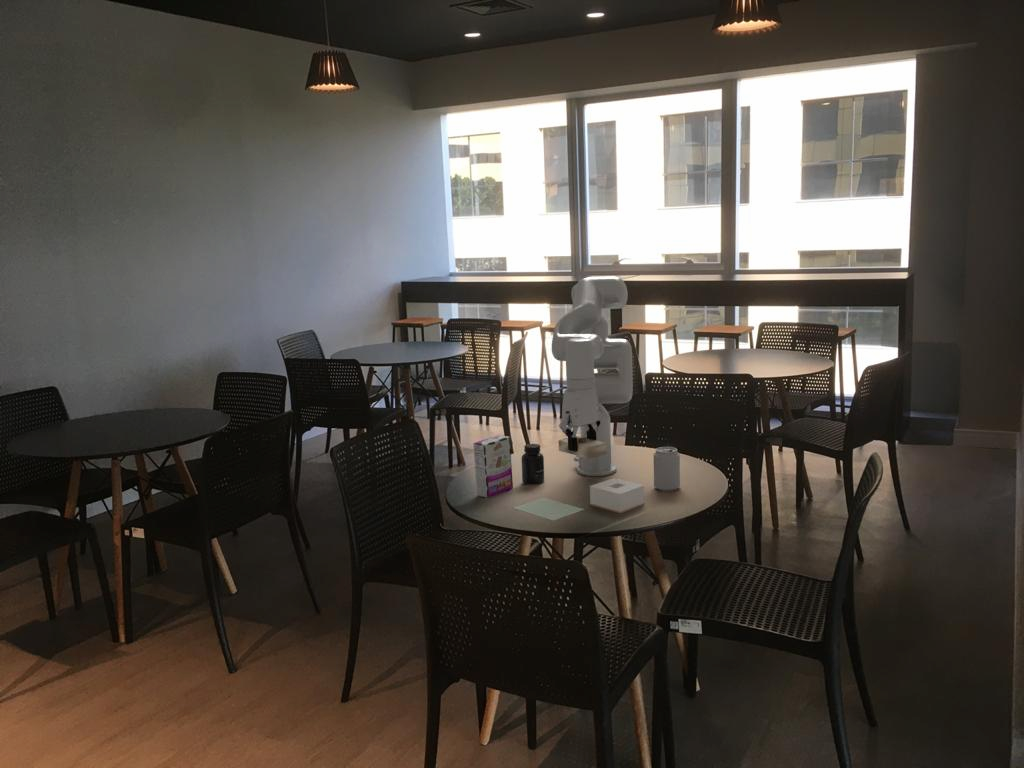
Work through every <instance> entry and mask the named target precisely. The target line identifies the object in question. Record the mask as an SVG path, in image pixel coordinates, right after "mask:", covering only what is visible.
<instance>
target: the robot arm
mask: <svg viewBox="0 0 1024 768" xmlns="http://www.w3.org/2000/svg"><path fill="white" fill-rule="evenodd" d="M570 295H571V300H572V309H571V310H569V311H568V312H566V314H564V315H563V316H562V317H561V318H560V319H559V320H558V321H557V322H556V324H555V325H554V329H553V334H552V339H551V354H552V357H553V358H554V359H555V360H557V361H560V362H565V378H566V389H565V390H564V392H563V396H562V407H561V408H562V415H561V416H562V417H561V418H562V420H561V421H560V423H559V425H558V426H559V427H558V428H560V429H561V431H562V432H563V433H564V434H565V436H566V437H567V438H568V450H570V451H574V452H577V451H578V438H577V437H576V436H577V432H578V429H579V428H580V430H579V431H580V437H586V438H587V439H591V440H596V441H600V442H605V443H606V444H607V454H604V455H601V456H597V457H594V458H590V459H589V458H585V457H581V456H577V455H575V457H574V458H573V461H574V462H578V463H579V464H578V465H577V467H576V472H577V474H579V475H583V476H586V477H589V476H590V477H603V476H608V475H609V476H610V475H613V474H615V472H617V466H616V465H615V464H613V463H612V436H611V416H610V413H609V412H608V410H607V409H606V408H605V406H604V405H603V404H605V405H606V404H627V403H629V402H631V400H632V398H633V392H634V389H633V385H634V382H633V380H634V379H633V349H632V345H631V343H630V341H628V340H627V339H625V338H609V323H608V321H607V319H606V318H605V317H604V316H603V314H602V311H603V310H608V309H609V310H613V309H615V310H616V309H623V308H625V306H626V305H627V302H628V295H629V293H628V287H627V284H626V283H625V282H624V280H623V279H622V278H620V277H618V276H611V275H610V276H588V277H583V278H582V279H580V280H578V282H577V283H576V284H574V286H573V287H572V288H571V294H570ZM595 370H616V371H617V372H595Z"/></svg>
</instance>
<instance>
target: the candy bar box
mask: <svg viewBox="0 0 1024 768" xmlns="http://www.w3.org/2000/svg"><path fill="white" fill-rule="evenodd" d="M511 449H512V448H511V436H508V435H502V434H498V435H495V436H491V437H489V438H485V439H483V440H478V441H475V442H473V457H474V467H475V469H474V470H475V482H476V483H475V484H476V495H477V497H480V498H485V499H486V498H489V497H493V496H495V495H499V494H502V493H505V492H509V491H512V490H513V489H514V484H513V483H514V481H513V466H512V451H511Z"/></svg>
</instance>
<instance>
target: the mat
mask: <svg viewBox="0 0 1024 768" xmlns="http://www.w3.org/2000/svg"><path fill="white" fill-rule="evenodd" d="M513 509H515V510H518V511H521V512H524V513H528V514H532V515H533V516H537V517H540V518H543V519H547V520H549V521H552V522H554V521H556V520H559V519H562V518H565V517H568V516H571V515H573V514H577V513H578V512H582V511H584V510H585V509H584V508H582V507H577V506H573V505H570V504H568V503H567V504H566V503H564V502H560V501H557V500H554V499H550V498H547V497H541V498H538V499H536V500H533V501H530V502H525V503H524V504H520V505H517V506H514V507H513Z"/></svg>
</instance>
